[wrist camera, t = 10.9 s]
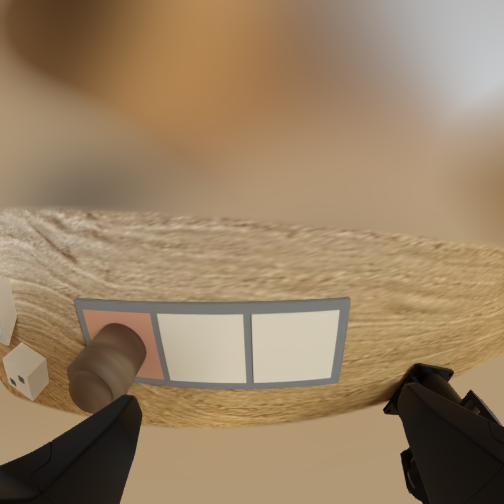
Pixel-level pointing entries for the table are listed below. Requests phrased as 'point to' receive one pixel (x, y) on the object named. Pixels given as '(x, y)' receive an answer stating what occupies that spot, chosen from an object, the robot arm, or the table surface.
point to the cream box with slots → (26, 371)
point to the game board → (230, 340)
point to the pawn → (106, 367)
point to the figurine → (6, 311)
